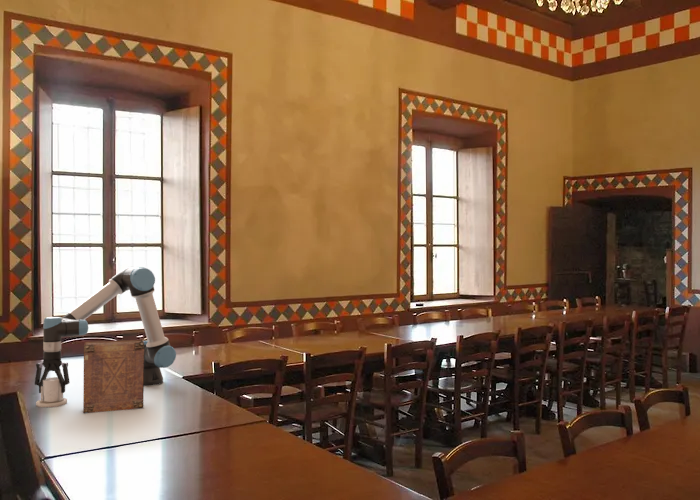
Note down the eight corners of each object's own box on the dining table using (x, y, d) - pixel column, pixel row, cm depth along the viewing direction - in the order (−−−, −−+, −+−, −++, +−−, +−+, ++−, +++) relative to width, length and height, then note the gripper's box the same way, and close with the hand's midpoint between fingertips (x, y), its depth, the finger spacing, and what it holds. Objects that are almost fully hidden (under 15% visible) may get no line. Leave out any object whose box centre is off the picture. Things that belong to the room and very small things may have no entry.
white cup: (65, 398, 296) (65, 377, 296) (55, 402, 289) (55, 380, 289) (49, 398, 297) (49, 377, 297) (39, 402, 290) (39, 380, 290)
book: (82, 413, 277) (83, 344, 277) (83, 408, 285) (83, 342, 285) (143, 408, 286) (144, 342, 286) (142, 403, 294) (142, 339, 294)
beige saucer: (71, 400, 300) (71, 397, 300) (60, 407, 287) (60, 403, 287) (43, 400, 299) (43, 397, 299) (31, 407, 286) (31, 404, 286)
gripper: (26, 352, 289) (25, 402, 289) (71, 351, 290) (71, 401, 290) (33, 349, 296) (33, 398, 296) (77, 349, 297) (77, 397, 297)
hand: (52, 399), depth 293 cm, fingers closed on white cup, 7 cm apart
